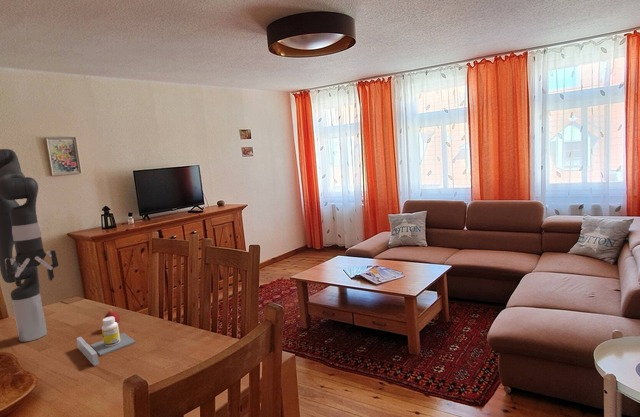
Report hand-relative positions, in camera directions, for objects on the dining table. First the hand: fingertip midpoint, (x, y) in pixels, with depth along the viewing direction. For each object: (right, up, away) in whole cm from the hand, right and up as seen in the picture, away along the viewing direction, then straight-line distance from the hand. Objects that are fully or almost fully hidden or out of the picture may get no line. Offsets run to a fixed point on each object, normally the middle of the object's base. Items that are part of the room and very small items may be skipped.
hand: (35, 283), depth 135 cm
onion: (+12, -24, +28) cm, 38 cm away
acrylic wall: (+15, -27, +5) cm, 31 cm away
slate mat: (+20, -25, +13) cm, 34 cm away
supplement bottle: (+20, -25, +13) cm, 34 cm away
